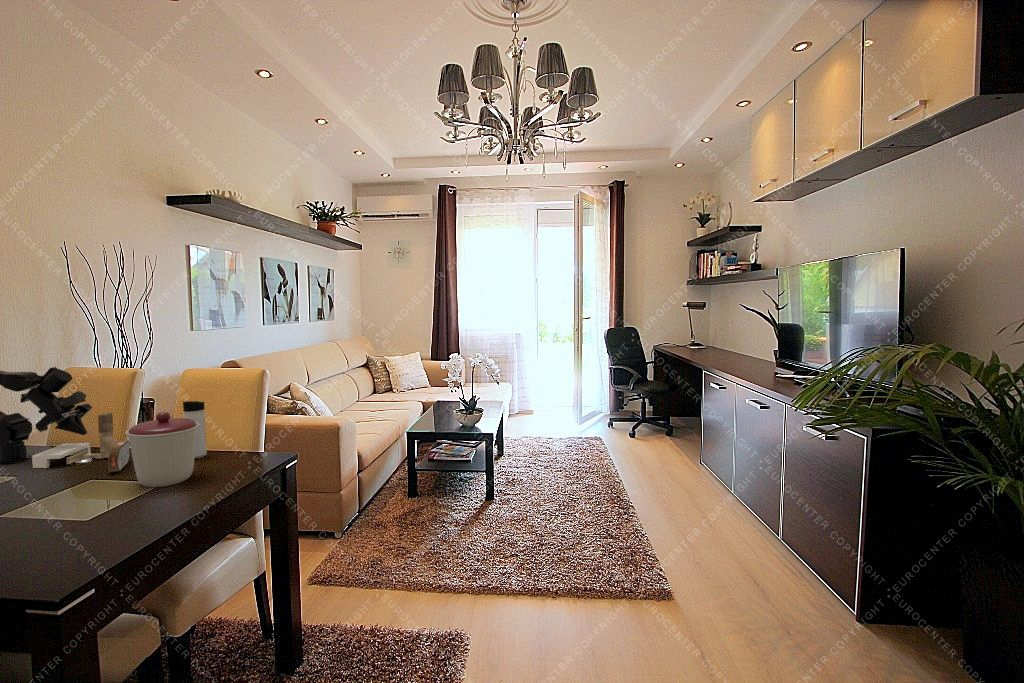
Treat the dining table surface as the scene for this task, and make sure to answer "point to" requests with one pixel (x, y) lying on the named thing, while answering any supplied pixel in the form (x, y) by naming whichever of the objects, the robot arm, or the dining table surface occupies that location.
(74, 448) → the cream rectangular box
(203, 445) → the travel mug
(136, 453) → the canister
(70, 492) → the dining table surface
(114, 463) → the tin
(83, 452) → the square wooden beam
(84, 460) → the grey metal disc
